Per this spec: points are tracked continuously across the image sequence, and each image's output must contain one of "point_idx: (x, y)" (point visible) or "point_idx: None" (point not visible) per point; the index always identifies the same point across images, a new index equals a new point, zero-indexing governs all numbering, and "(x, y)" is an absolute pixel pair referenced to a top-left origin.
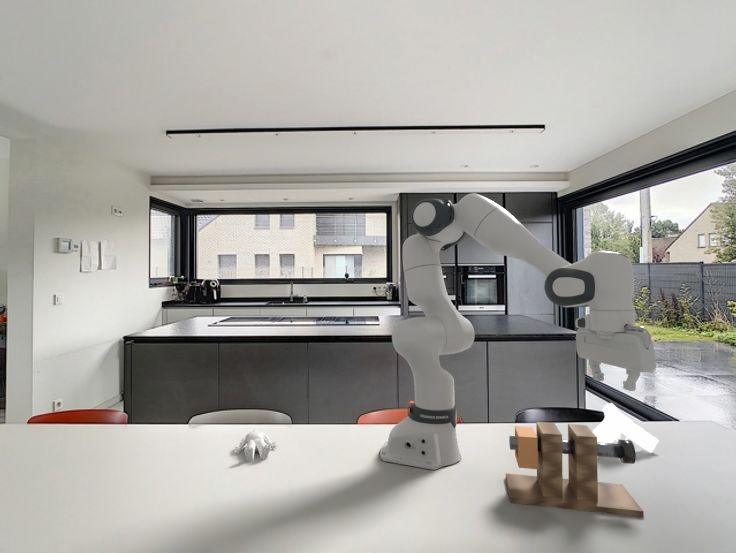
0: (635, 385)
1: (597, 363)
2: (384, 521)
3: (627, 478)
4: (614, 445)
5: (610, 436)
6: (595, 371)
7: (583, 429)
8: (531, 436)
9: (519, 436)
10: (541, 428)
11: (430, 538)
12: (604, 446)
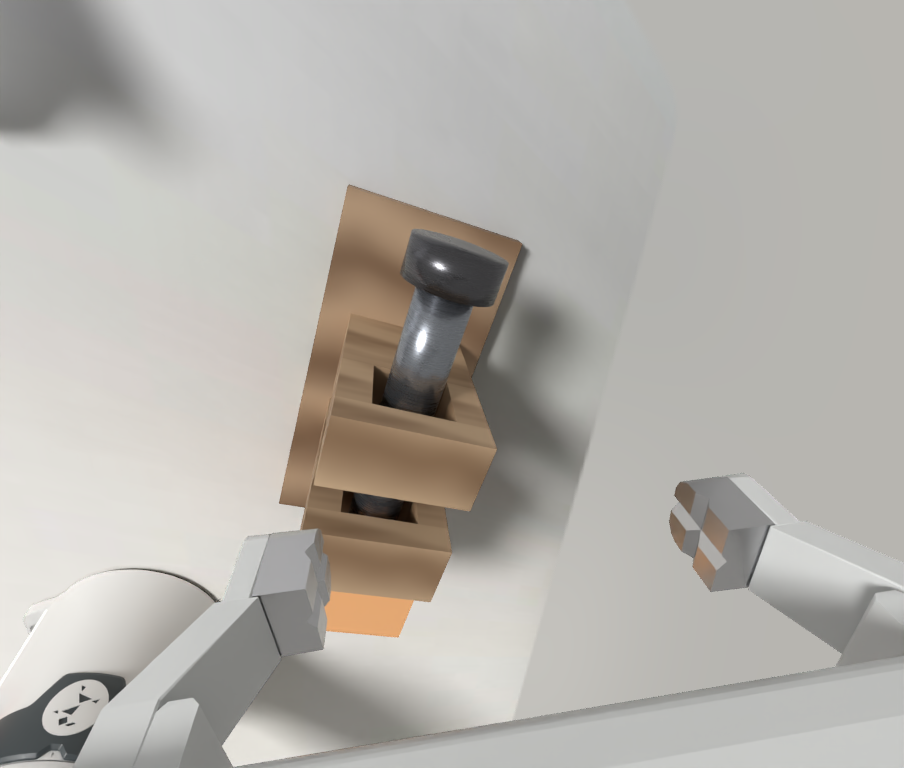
0: (772, 498)
1: (212, 755)
2: (458, 689)
3: (250, 87)
4: (454, 329)
5: None
6: (269, 661)
7: (394, 455)
8: (402, 606)
9: (398, 634)
10: (375, 591)
11: (514, 641)
12: (447, 368)
